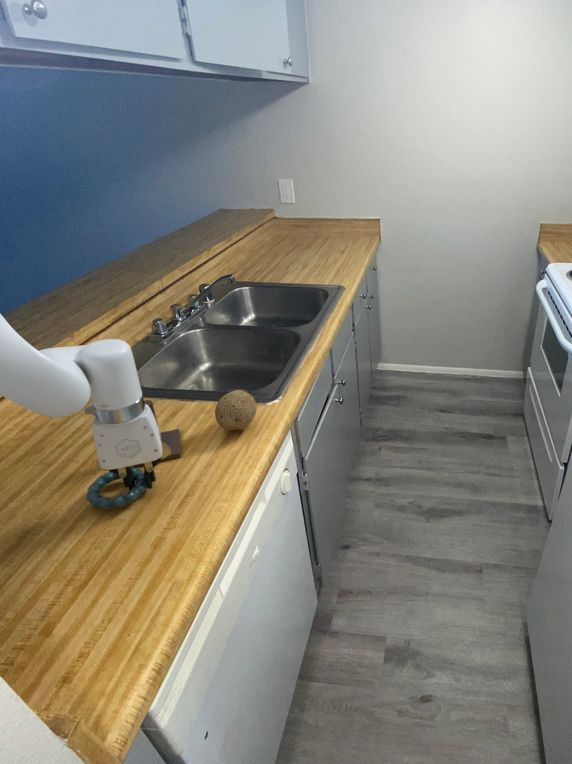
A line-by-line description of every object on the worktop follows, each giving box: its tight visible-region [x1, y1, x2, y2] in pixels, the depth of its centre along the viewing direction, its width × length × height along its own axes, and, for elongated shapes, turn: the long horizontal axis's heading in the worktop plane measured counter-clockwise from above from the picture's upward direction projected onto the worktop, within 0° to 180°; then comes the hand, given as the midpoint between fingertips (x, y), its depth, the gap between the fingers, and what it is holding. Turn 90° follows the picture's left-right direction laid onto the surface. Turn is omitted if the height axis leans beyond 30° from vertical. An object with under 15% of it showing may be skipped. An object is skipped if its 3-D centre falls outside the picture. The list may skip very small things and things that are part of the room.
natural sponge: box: [214, 389, 258, 431], centre depth 108 cm, size 9×9×10 cm
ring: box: [86, 467, 148, 510], centre depth 90 cm, size 10×10×2 cm
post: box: [132, 399, 182, 468], centre depth 100 cm, size 9×9×12 cm
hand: (141, 485), depth 91 cm, fingers closed on ring, 2 cm apart
